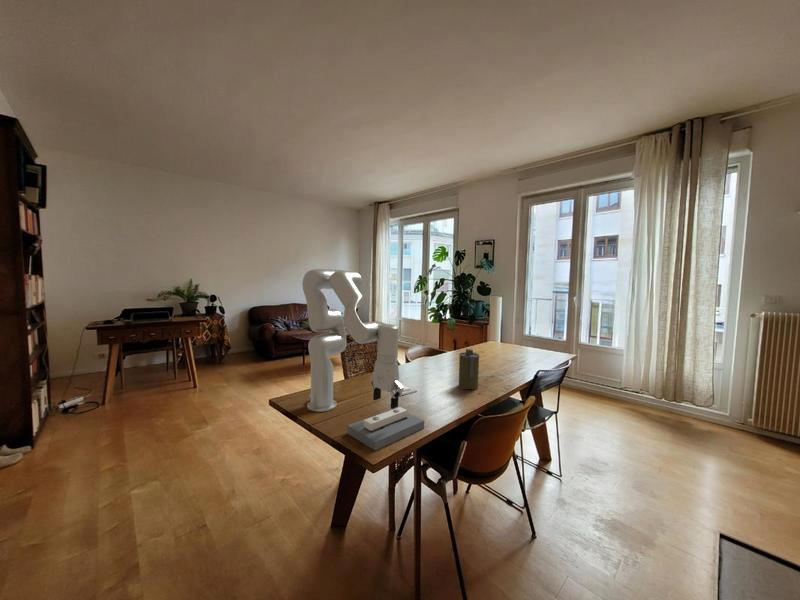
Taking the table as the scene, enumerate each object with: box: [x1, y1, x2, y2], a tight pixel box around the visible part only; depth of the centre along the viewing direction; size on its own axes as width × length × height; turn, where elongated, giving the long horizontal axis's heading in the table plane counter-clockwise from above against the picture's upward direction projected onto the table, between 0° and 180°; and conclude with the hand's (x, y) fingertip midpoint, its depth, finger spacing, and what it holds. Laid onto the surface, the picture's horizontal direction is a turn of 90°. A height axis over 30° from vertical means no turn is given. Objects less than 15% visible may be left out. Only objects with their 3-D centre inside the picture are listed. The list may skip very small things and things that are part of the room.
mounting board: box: [346, 407, 425, 451], centre depth 120 cm, size 16×24×3 cm, turn 134°
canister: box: [458, 348, 480, 391], centre depth 170 cm, size 11×10×20 cm
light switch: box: [393, 381, 418, 397], centre depth 164 cm, size 11×4×13 cm
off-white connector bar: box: [363, 406, 408, 433], centre depth 120 cm, size 4×18×6 cm, turn 134°
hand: (385, 403), depth 120 cm, fingers open, 9 cm apart
